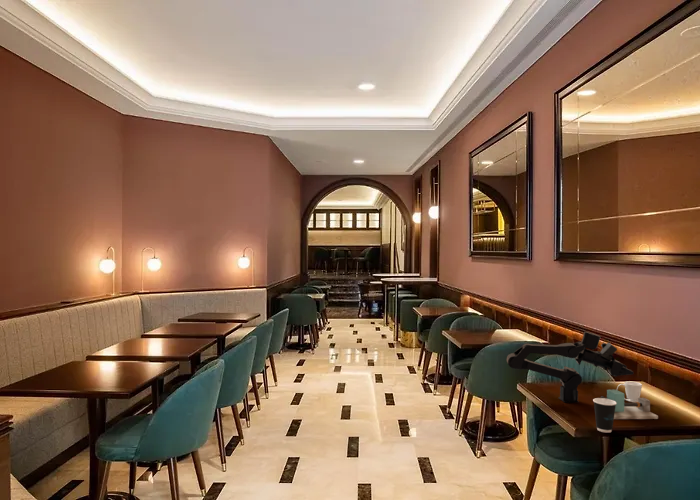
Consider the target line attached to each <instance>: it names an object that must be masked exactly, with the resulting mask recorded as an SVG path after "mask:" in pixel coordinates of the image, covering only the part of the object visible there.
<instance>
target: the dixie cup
mask: <svg viewBox="0 0 700 500" xmlns="http://www.w3.org/2000/svg"><path fill="white" fill-rule="evenodd" d="M605 398H606V397H604V398H601V397H596V398H593V399H592V401H593V404H594V405H593V408H594V415H595V425H596V429H597V431H599V432H601V433H612V431H613V427H614V420H615V419H614V414H615V407H616V404H617V403H616V402H615V401H613V400H610V399H605Z"/></svg>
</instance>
